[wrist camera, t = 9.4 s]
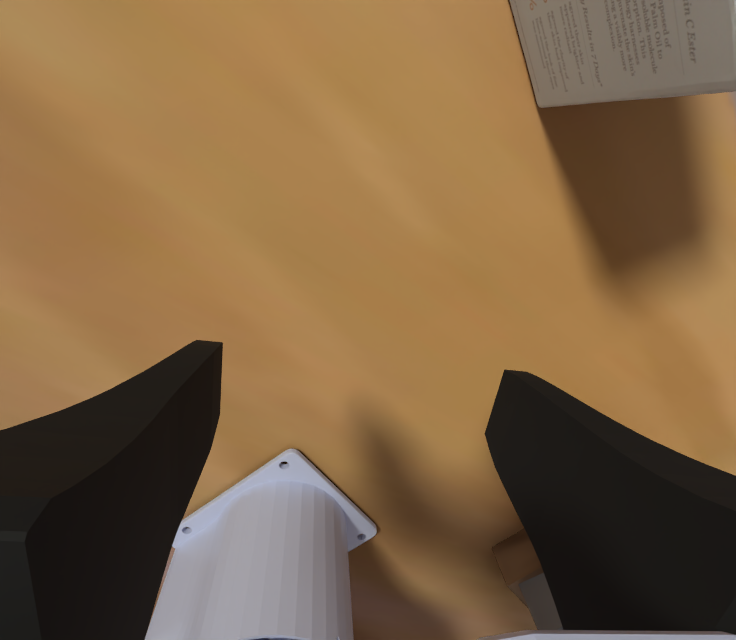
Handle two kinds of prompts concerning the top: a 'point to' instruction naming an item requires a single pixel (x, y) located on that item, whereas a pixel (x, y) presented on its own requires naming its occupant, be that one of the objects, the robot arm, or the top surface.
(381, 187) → the top surface
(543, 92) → the small box
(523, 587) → the top block
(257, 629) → the robot arm
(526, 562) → the base block
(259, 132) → the top surface
